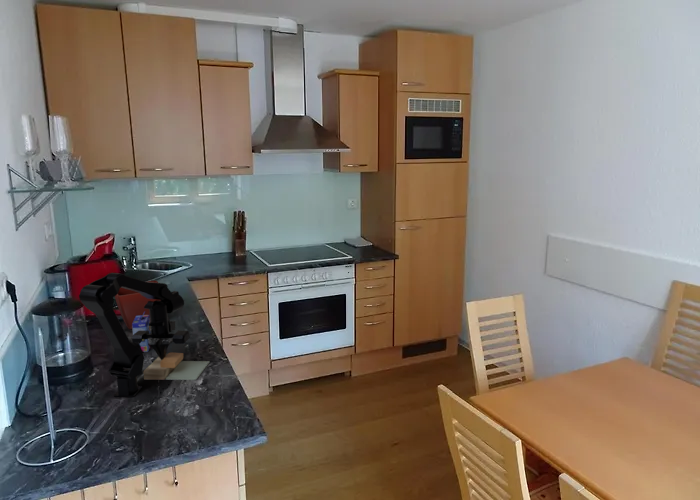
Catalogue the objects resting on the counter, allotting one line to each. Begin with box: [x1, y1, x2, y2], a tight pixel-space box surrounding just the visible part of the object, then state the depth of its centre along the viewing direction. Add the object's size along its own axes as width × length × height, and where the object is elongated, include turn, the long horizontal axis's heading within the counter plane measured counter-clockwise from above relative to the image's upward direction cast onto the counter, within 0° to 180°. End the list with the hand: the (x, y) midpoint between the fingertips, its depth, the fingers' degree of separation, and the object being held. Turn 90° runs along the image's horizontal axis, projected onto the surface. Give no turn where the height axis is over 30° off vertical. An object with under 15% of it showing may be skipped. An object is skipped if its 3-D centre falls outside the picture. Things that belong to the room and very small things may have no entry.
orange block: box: [160, 351, 184, 368], centre depth 172 cm, size 8×5×2 cm, turn 178°
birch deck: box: [142, 353, 176, 381], centre depth 173 cm, size 14×7×3 cm, turn 177°
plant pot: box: [114, 280, 161, 330], centre depth 220 cm, size 19×19×17 cm
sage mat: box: [165, 360, 210, 381], centre depth 173 cm, size 14×10×1 cm
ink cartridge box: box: [132, 312, 152, 353], centre depth 192 cm, size 10×6×14 cm, turn 15°
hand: (163, 359), depth 173 cm, fingers closed
